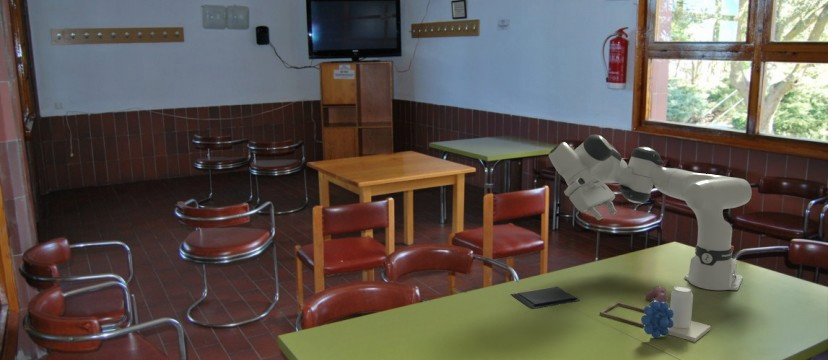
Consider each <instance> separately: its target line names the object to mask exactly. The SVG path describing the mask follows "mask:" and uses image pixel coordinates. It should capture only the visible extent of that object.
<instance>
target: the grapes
mask: <svg viewBox="0 0 828 360" xmlns="http://www.w3.org/2000/svg"><path fill="white" fill-rule="evenodd" d="M650 303H651V306H649V305H645V306H644V308H643V309H644V312H643V313H644V315H642V316H641V318H640V323H643V324H644V327H643V331H644V333H646V334H647V335H651V336H652V338H654V339H659V338H660V337H661V336H664V337H665V336H668V335H669V334H668V328H671V327H673V325H674V323H673V320H672V319H670V318H672V317H673V315H674V313H673V311H672V310H671V309H670V307H669V304H668V303H667V302H663V301H662V302H660V303H659V302H658V301H656V300H655V299H653V300H651V301H650Z"/></svg>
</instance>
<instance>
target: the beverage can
mask: <svg viewBox="0 0 828 360" xmlns="http://www.w3.org/2000/svg"><path fill="white" fill-rule="evenodd" d="M693 301H694V294H693V292H692V289H691V287H687V286H684V285H677V286H674V287H673V289H672V291H671V293H670V302H669V303H670V307H669V309H671V310H672V311H673V313H674V315H673V317H672V318H670V319H672V320H673V323H674V325H673V327H675V328H679V329H685V328H687V327H689V326H690V325H691V321H692V316H693V315H692V313H693V304H694V303H693Z"/></svg>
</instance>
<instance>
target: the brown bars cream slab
mask: <svg viewBox="0 0 828 360" xmlns="http://www.w3.org/2000/svg"><path fill="white" fill-rule="evenodd" d="M618 306H620V307H624V308H627V309H631V310H634V311H637V312H640V313H641V312H642V313H644V308H641V307H640V306H639V307H638V306H635V305H630V304H627V303H623V302H619V301H617V302H614V303H613V304H611V305H609V306H608V307H606V308H604V309H602V310H601V311H599V316H602V317H606V318H609V319H613V320H617V321H619V322H620V321H621V322H624V323H627V324H631V325H634V326H637V327H641V328H644V326H645V325H644V324H643V323H642V322H639V321H636V320H631V319H628V318H624V317H621V316H618V315H616V314H615V315H614V314H611V313H609V312H610V311H612V310H613V309H614V308H616V307H618ZM607 312H608V313H607ZM711 329H712V328H711V325H710V324H709V325H708V324H706V323H701V322H698V321H693V320H691V325H690V326H689V327H687V328H685V329H679V328H675V327H671V328H668V334H667V335H670V336H674V337H678V338H680V339H684V340H687V341H690V342H694V343H695V342H697V341H698V340H699V339H701V338H702V337H703V336H704V335H706V334H707V333H708V332H709V331H711Z"/></svg>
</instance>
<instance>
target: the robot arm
mask: <svg viewBox="0 0 828 360" xmlns="http://www.w3.org/2000/svg"><path fill="white" fill-rule="evenodd" d="M548 158H549V160H550V162H551V164H552V165H553V167H554V168H555V170H556V171H557V173H558V174H559V175H560V176H561V177H562V178H563V179H564V181H565V182H566V184H567V187H566V189H565V190H564V191H563V193H564V195H565V196H566V197H569V198H568V199H569V200H570V202H571V203H572V205H574V207H575V208H576V209H577V210H578V211H579V212H581V213H585V212H588V213H589V214H590V215H592V216H593V217H594V218H595V219H596V220H597V221H600V220H602V219H603V218H604V215H603V214H602V212H599V211H598V210H597V209H596V208H599V207H602V206H605V207H606V208H608V213H609V214H610V215H612V216H613V215H616V213H617V209H616V207H615V205H614V202H613V200H615V198H616V194H615V193H614V192H613V191H612V190H611V189H610V188H609V186H608V185H607V184H619V186H618V187H617V188H618V189H619V190H620V192H621V195H622V196H623V198H624V199H626V200H627V201H629V202H630V203H634V204H642V203H647V202H648V201H649V199H650V197H651V192H652V190H653V187H655V189H656V190H657V191H658V192H660V193H662V194H664V195H665V196H668V197H671V198H674V199H678V200H681V201H684V202H685V203H686V205H687V206H688V208H690V209H691V210H692V211H693V213H694V214H695V217H696V220H697V243H696V244H695V249H694V251H695V253H694V254H695V255H693V256H692V257H690V263H689V269H688V274H684V279H685V280H686V281H688V282H689V284H691V285H692V286H695V287H697V288H700V289H705V290H709V291H710V290H711V291H727V290H729V291H738V290H739V288H740V286H741V284H742V282H743V280H744V279H743V275H741V274H737V271H738V265H737V263H736V261H735V260H734V259H733V251H734V248H735V247H734V245H732V237H733V227H732V225H731V223H730V222H728V221H726V220H725V217H724V214H723V213H724V212H723V210H726V209H734V208H738V207H741V206H743V205H746V204H747V203H749V202H750V200H751V199H752V194H753V192H752V191H753V190H752V187H751V185H750V183H749V181H748V180H746V179H744V178H740V177H733V176H732V177H731V176H725V175H718V174H717V175H716V174H709V173H707V174H706V173H701V172H700V173H699V172H694V171H689V170H686V169H680V168H674V167H673V168H671V167H664V166H662V164H665V162H664V161H663V160H662V158H661V156H660V154H659V152H658V151H656V150H654V149H653V148H651V147H648V146H639V147H635V148H634V149H633V150H632V152H631V154H630V159H629V161H628V163H627V162H626V161H625V160H624V158H622V155H621V153H620V152H619V150H618V149H617V148H616V147H615V146H614V145H612V144H611V143H609V141H607V139H606V138H604V137H603V136H602V135H600V134H590V135H589V136H588V137H587V138H586V139H585V140H584V141H583V142H582V143H581V144H580V145H578V147H576V148H575V149H574V150H573V148H572V146H571V145H569V144H568V143H567V142H566V141H563V142H562V141H561V142H560V143H558V144H557V145H556V146H555V147H553V149H551V150H550V151H549V152H548ZM661 163H662V164H661Z"/></svg>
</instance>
